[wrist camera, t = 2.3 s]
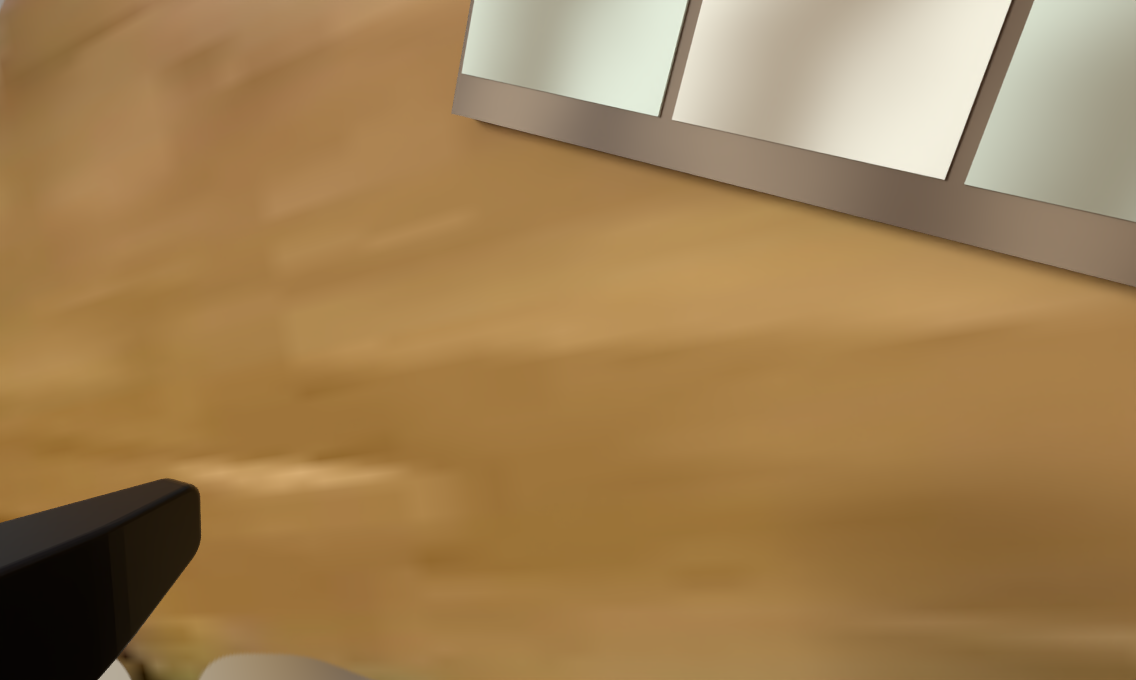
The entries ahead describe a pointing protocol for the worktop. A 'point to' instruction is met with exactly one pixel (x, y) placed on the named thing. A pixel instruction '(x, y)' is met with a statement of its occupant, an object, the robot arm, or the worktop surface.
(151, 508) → the robot arm
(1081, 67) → the board
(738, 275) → the worktop surface
